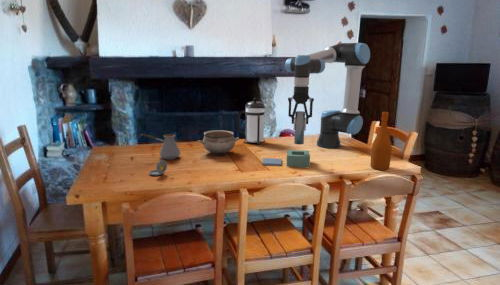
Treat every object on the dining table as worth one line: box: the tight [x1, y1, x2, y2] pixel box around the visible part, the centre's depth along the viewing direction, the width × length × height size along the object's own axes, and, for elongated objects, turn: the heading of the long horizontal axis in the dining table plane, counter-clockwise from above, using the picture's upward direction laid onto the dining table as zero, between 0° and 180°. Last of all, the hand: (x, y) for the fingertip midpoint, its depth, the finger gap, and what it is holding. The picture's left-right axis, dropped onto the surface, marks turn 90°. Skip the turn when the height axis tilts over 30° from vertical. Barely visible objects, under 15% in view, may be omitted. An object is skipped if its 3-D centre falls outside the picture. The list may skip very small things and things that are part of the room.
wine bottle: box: [370, 111, 393, 171], centre depth 189 cm, size 10×10×30 cm
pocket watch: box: [149, 155, 168, 177], centre depth 176 cm, size 8×8×10 cm
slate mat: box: [261, 157, 282, 167], centre depth 199 cm, size 10×10×1 cm
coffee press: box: [236, 97, 267, 146], centre depth 239 cm, size 17×16×30 cm
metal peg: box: [293, 110, 306, 145], centre depth 193 cm, size 5×5×17 cm
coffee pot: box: [140, 132, 181, 161], centre depth 202 cm, size 21×12×15 cm, turn 109°
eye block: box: [286, 149, 311, 168], centre depth 197 cm, size 12×12×6 cm
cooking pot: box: [197, 129, 240, 156], centre depth 214 cm, size 25×19×12 cm
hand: (299, 129), depth 193 cm, fingers closed on metal peg, 5 cm apart
